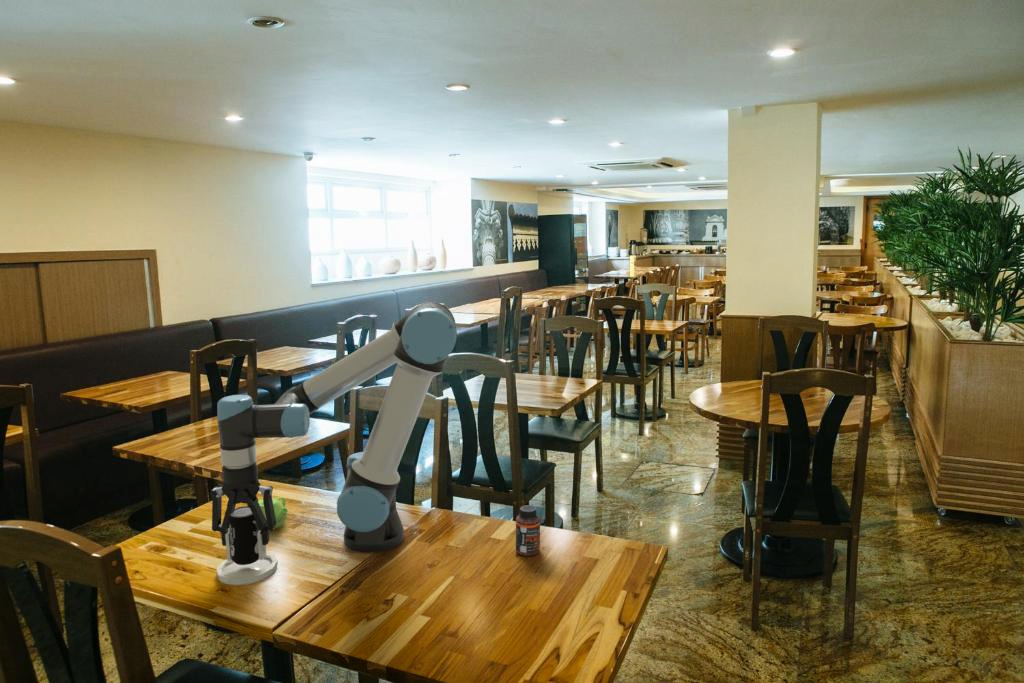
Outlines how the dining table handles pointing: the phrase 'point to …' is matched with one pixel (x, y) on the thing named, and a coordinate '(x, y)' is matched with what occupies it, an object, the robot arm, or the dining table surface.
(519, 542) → the supplement bottle
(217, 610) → the dining table surface
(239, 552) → the beverage can
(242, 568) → the saucer
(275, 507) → the green rounded body
